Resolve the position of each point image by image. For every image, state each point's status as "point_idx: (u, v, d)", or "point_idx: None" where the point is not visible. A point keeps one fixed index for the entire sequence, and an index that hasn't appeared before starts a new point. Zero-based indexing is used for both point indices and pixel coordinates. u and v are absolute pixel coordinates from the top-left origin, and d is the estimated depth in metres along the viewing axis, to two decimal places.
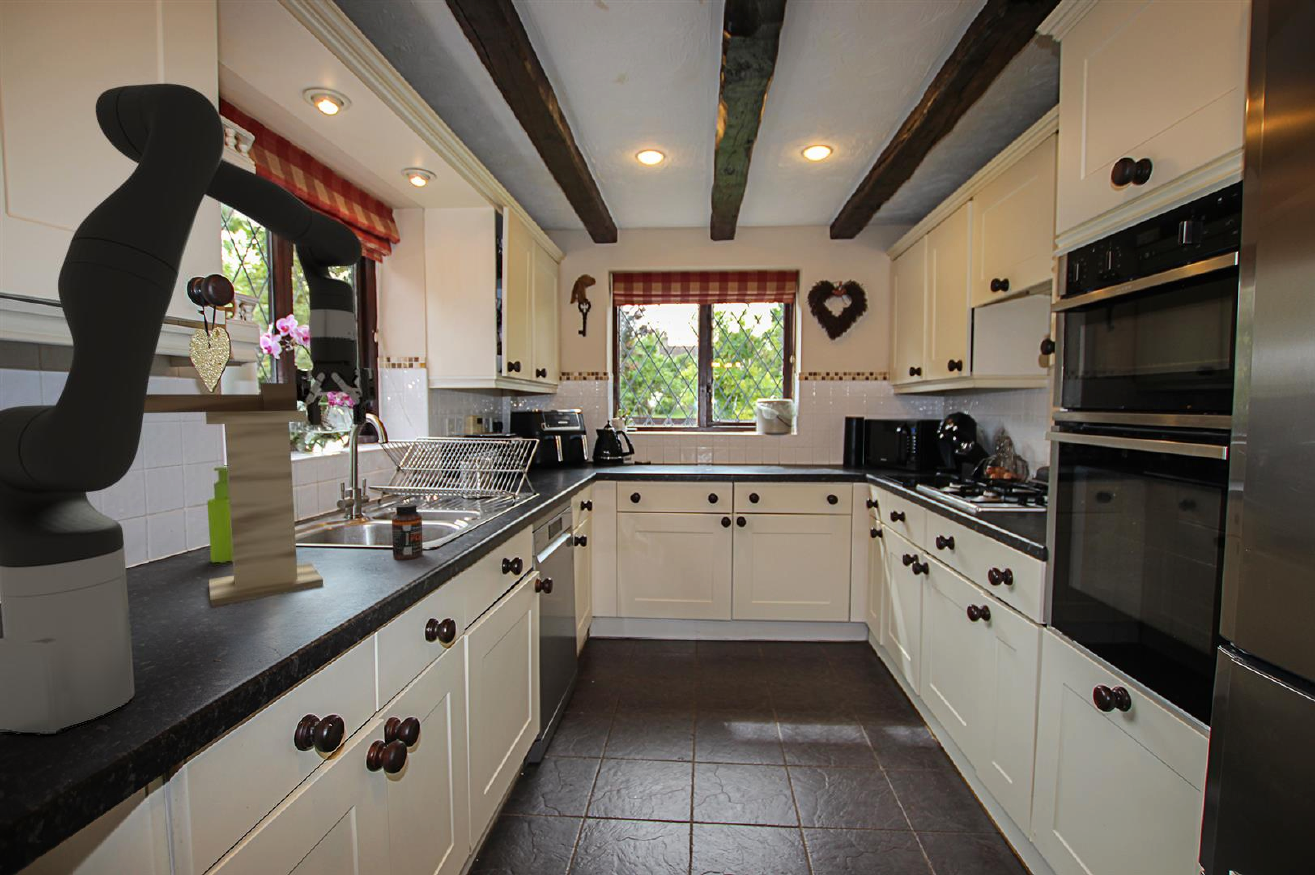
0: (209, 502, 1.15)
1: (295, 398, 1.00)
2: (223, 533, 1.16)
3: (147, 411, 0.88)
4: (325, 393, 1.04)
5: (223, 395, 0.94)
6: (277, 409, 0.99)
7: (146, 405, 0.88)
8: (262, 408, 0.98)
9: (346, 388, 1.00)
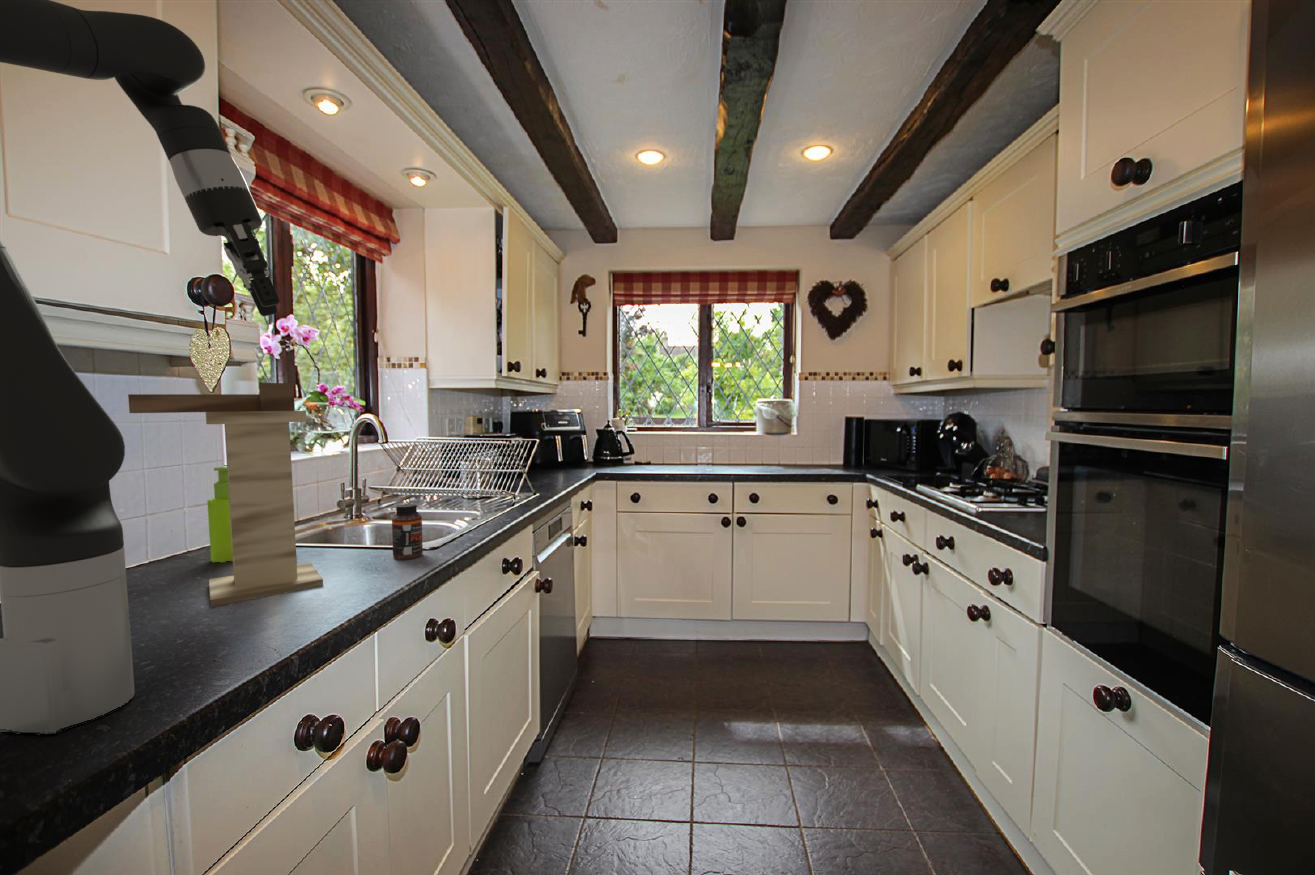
0: (209, 502, 1.15)
1: (292, 398, 1.00)
2: (223, 533, 1.16)
3: (144, 411, 0.89)
4: None
5: (220, 395, 0.94)
6: (274, 409, 0.98)
7: (143, 405, 0.88)
8: (259, 408, 0.97)
9: None
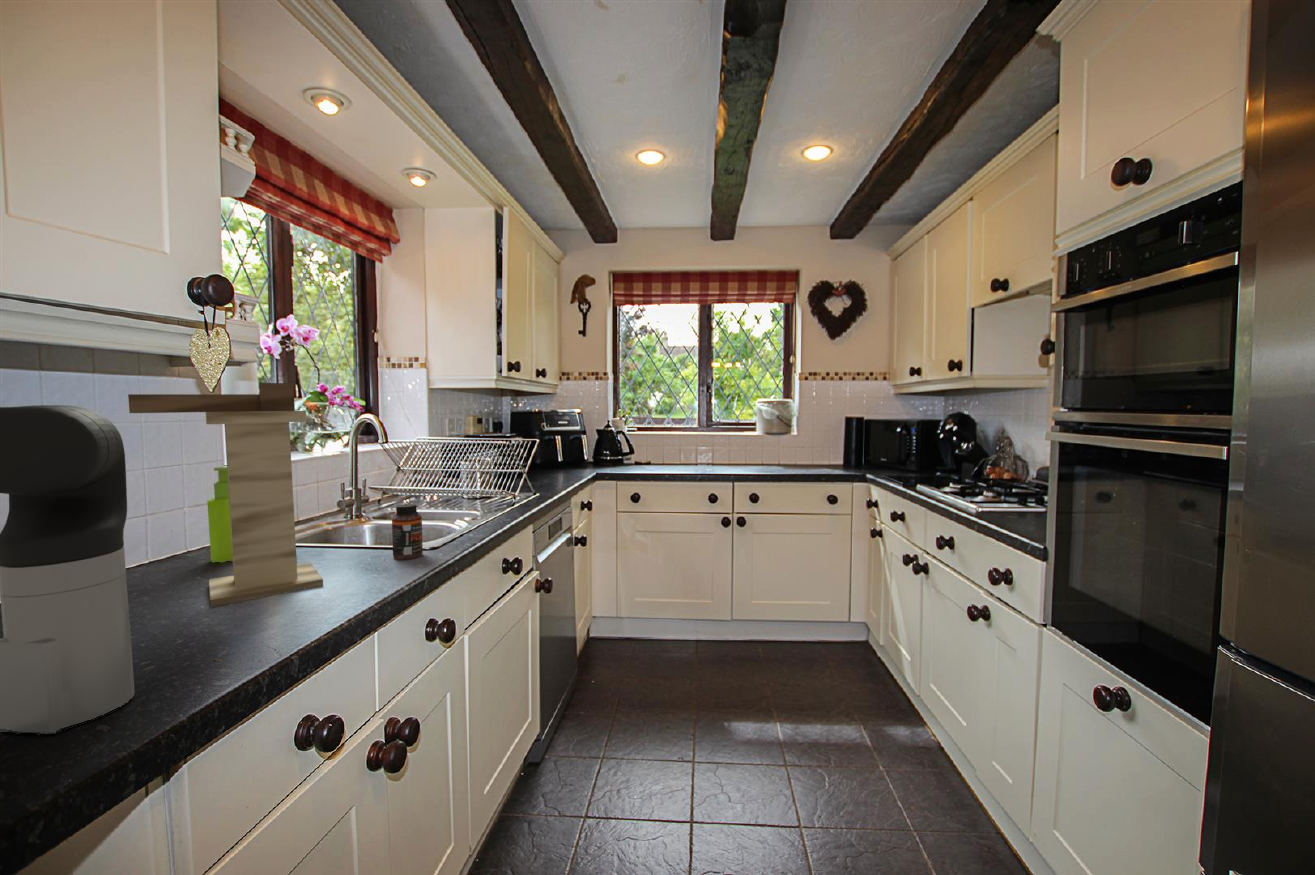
0: (209, 502, 1.15)
1: (292, 398, 1.00)
2: (223, 533, 1.16)
3: (144, 411, 0.89)
4: None
5: (220, 395, 0.94)
6: (274, 409, 0.98)
7: (143, 405, 0.88)
8: (259, 408, 0.97)
9: None
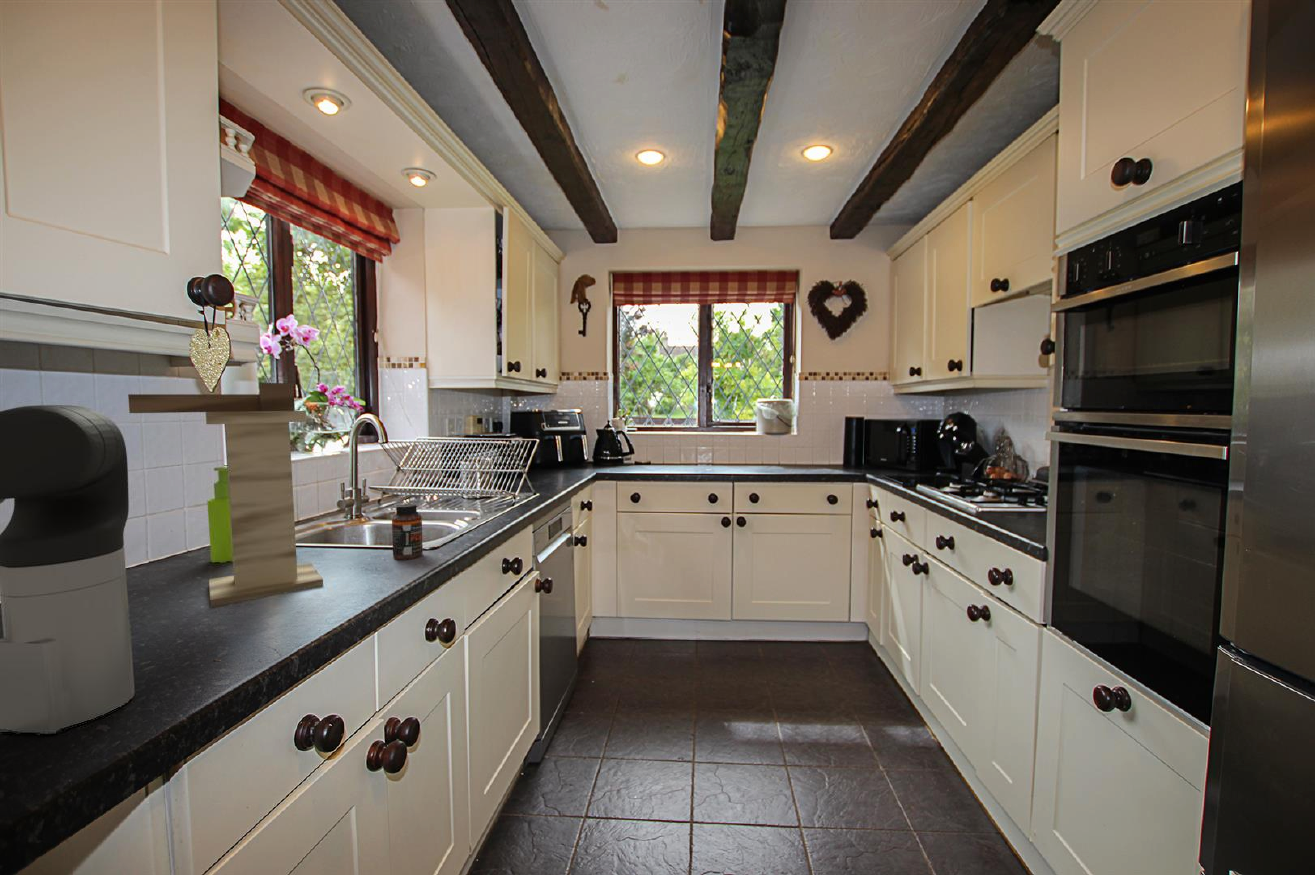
0: (209, 502, 1.15)
1: (292, 398, 1.00)
2: (223, 533, 1.16)
3: (144, 411, 0.89)
4: None
5: (220, 395, 0.94)
6: (274, 409, 0.98)
7: (143, 405, 0.88)
8: (259, 408, 0.97)
9: None
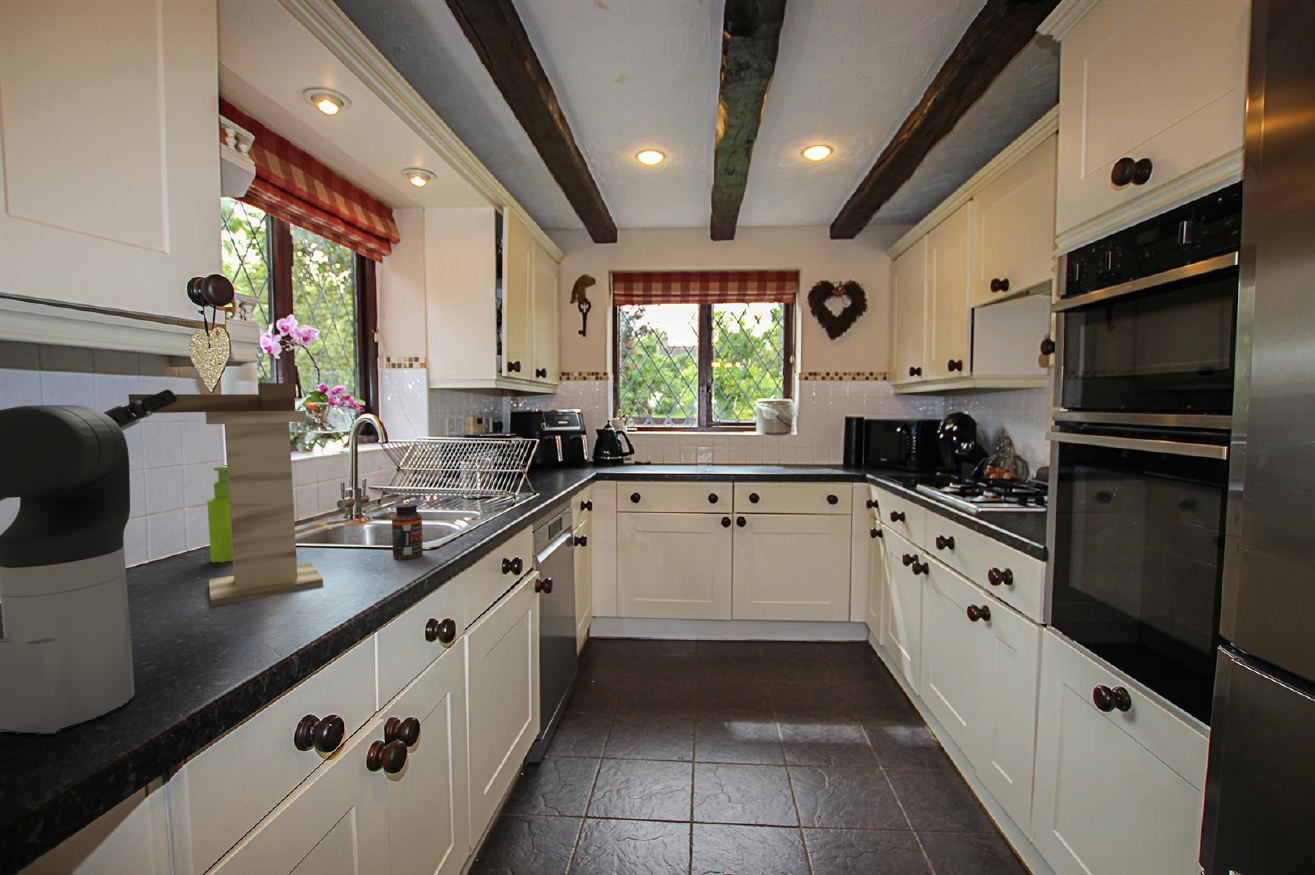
0: (209, 502, 1.15)
1: (293, 398, 1.00)
2: (223, 533, 1.16)
3: None
4: None
5: (221, 395, 0.94)
6: (275, 409, 0.98)
7: None
8: (260, 408, 0.98)
9: None
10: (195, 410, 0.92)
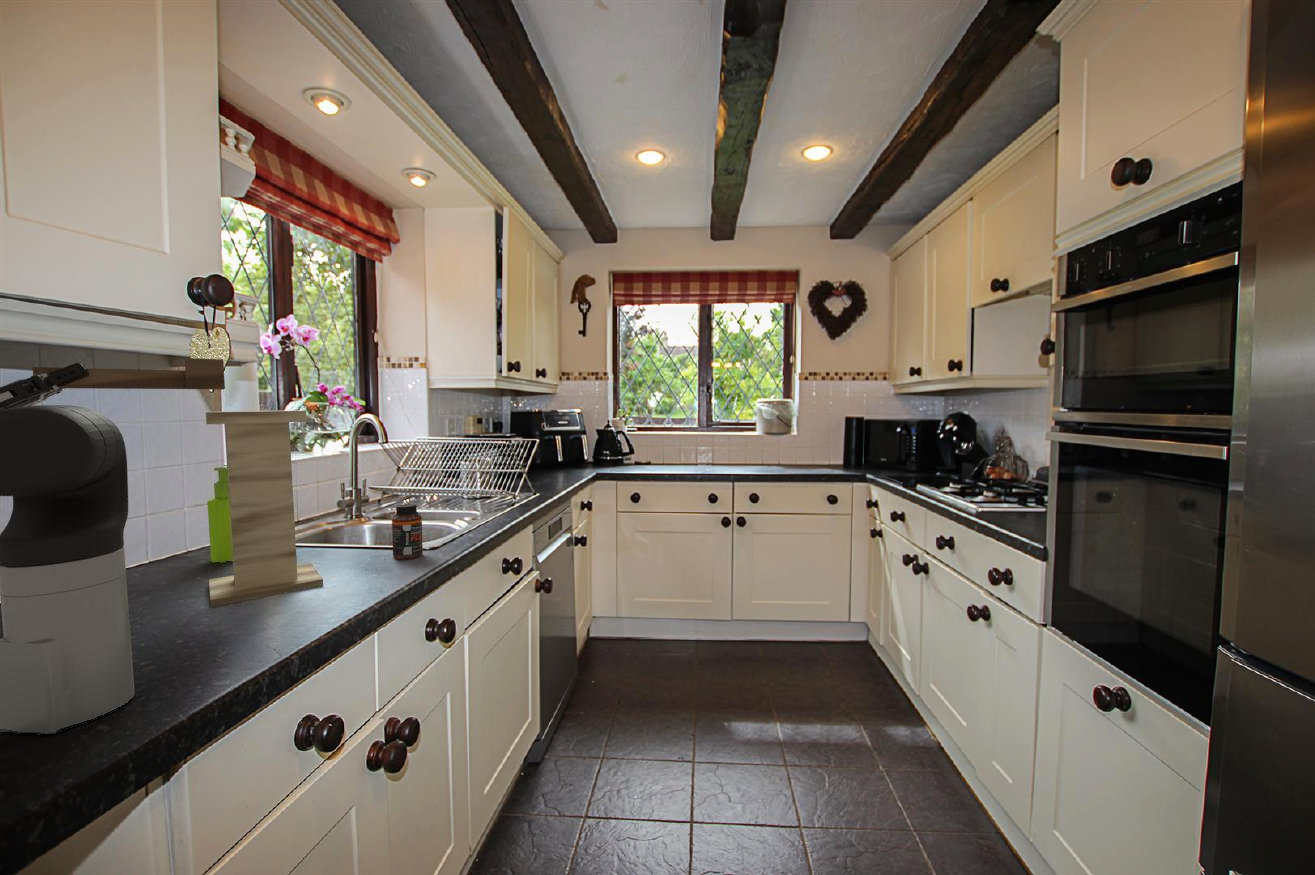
0: (209, 502, 1.15)
1: (222, 375, 0.94)
2: (223, 533, 1.16)
3: None
4: None
5: (140, 370, 0.88)
6: (201, 386, 0.92)
7: None
8: (185, 385, 0.91)
9: None
10: (110, 386, 0.86)
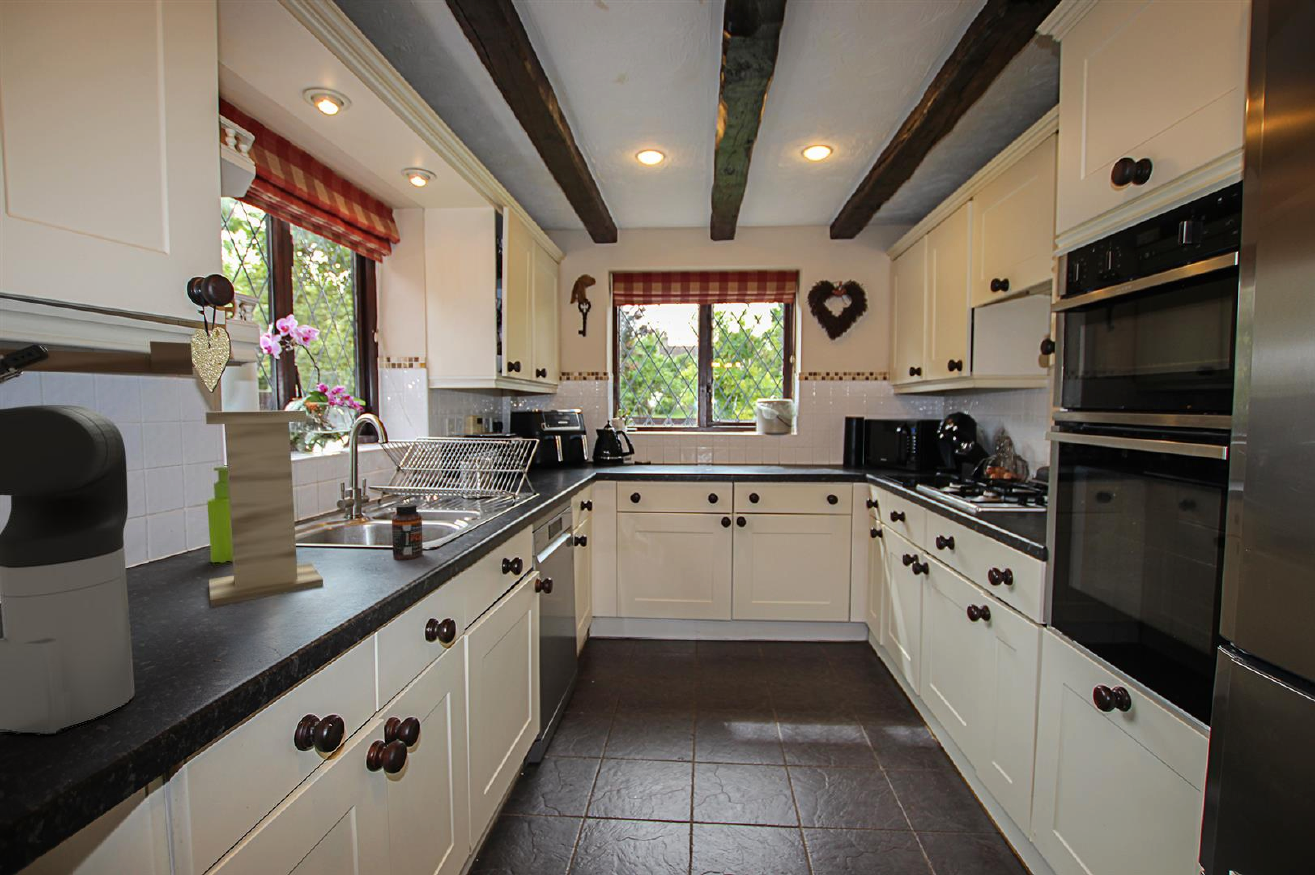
0: (209, 502, 1.15)
1: (190, 359, 0.91)
2: (223, 533, 1.16)
3: None
4: None
5: (102, 353, 0.85)
6: (168, 371, 0.89)
7: None
8: (150, 369, 0.88)
9: None
10: (71, 369, 0.83)
